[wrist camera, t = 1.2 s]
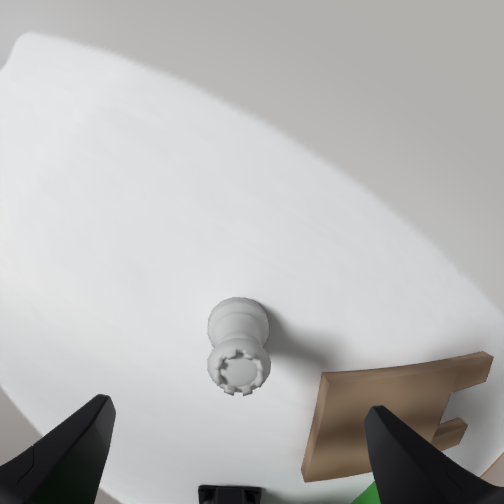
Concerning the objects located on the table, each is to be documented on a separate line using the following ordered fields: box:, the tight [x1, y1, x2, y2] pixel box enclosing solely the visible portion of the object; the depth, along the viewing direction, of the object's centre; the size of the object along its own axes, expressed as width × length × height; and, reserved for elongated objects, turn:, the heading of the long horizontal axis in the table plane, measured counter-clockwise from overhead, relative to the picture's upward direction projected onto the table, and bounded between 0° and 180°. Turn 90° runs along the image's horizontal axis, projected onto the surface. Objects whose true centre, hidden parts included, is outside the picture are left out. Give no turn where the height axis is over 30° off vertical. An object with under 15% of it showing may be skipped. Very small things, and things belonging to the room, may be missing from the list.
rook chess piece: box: [208, 297, 271, 396], centre depth 17 cm, size 4×4×8 cm
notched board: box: [301, 351, 494, 482], centre depth 22 cm, size 12×20×2 cm, turn 86°
